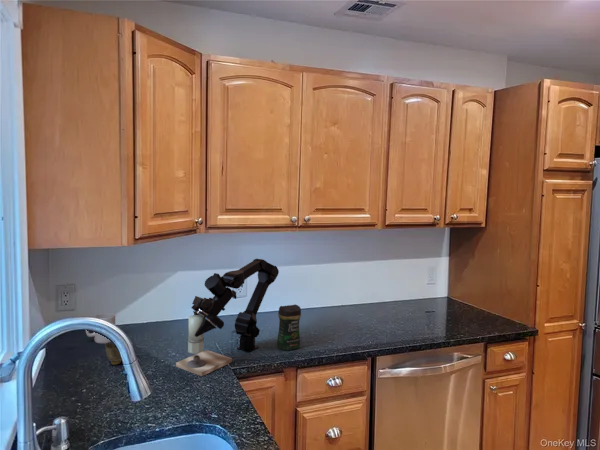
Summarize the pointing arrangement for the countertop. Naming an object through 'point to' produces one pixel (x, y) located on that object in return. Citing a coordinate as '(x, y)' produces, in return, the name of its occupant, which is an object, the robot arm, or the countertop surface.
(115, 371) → the countertop surface
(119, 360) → the cup
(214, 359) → the mounting board
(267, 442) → the countertop surface
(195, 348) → the light bulb
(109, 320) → the mug
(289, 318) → the coffee jar
